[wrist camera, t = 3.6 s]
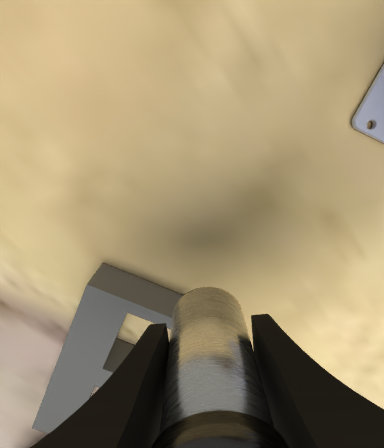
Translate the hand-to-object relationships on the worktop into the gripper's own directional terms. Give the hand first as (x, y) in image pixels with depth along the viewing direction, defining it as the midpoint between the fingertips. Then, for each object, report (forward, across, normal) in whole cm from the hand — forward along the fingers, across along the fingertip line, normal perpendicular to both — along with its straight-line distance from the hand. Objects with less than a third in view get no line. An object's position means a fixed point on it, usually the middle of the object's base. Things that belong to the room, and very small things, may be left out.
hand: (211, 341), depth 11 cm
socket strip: (+9, +6, +8) cm, 13 cm away
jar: (+2, 0, 0) cm, 2 cm away
